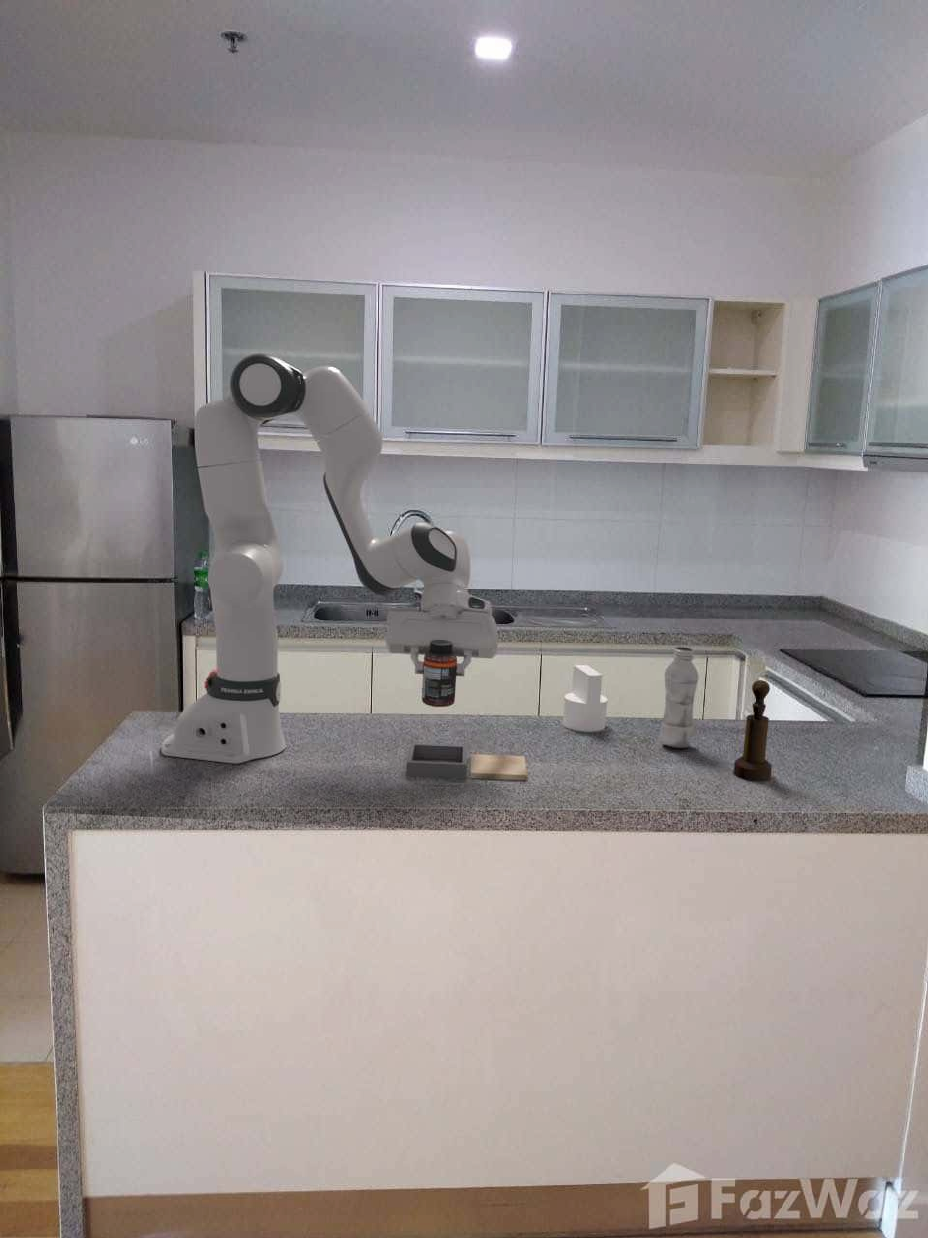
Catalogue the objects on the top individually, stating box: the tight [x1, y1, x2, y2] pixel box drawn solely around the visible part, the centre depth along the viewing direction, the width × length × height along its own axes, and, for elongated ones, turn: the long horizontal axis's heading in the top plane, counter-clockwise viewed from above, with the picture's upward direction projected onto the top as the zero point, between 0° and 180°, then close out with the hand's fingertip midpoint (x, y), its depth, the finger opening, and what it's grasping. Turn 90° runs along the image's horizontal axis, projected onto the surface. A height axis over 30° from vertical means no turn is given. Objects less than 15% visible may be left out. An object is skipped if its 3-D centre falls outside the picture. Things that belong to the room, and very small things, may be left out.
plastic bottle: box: [659, 646, 700, 749], centre depth 189 cm, size 6×7×20 cm
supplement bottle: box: [421, 640, 458, 708], centre depth 170 cm, size 6×6×11 cm
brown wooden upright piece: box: [733, 679, 773, 782], centre depth 175 cm, size 7×6×18 cm
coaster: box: [469, 753, 528, 781], centre depth 173 cm, size 10×10×1 cm
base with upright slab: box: [562, 664, 608, 733], centre depth 202 cm, size 9×9×12 cm
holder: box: [405, 742, 468, 779], centre depth 173 cm, size 11×11×2 cm
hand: (439, 673), depth 170 cm, fingers closed on supplement bottle, 6 cm apart
